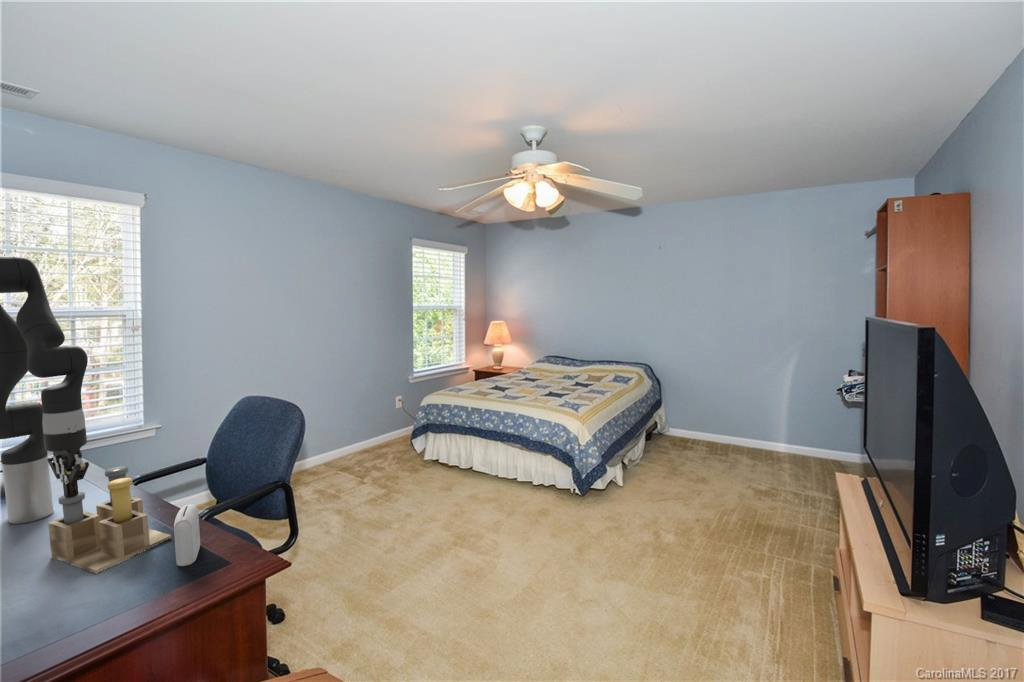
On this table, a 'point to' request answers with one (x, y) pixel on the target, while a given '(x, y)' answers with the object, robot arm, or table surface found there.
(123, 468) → the grey plug
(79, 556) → the board
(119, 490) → the ochre plug
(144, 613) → the table surface
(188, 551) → the photo printer
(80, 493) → the grey plug
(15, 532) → the table surface
